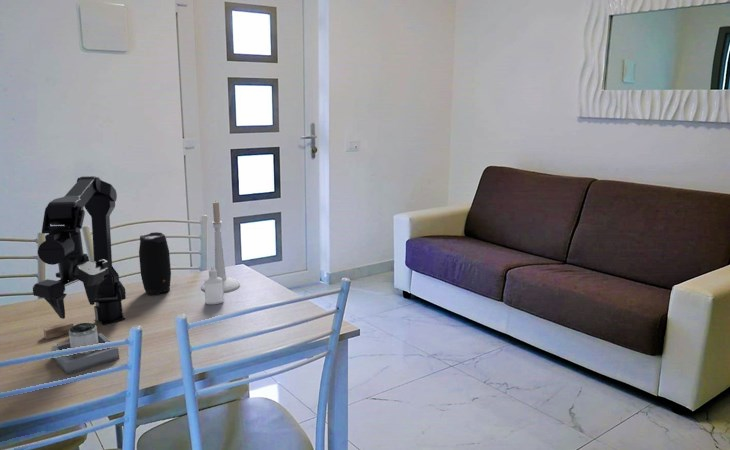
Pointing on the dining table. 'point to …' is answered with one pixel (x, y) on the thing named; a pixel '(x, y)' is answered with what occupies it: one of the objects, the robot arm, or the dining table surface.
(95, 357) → the tray
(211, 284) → the eye dropper bottle
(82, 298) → the dining table surface
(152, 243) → the portable speaker
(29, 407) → the dining table surface
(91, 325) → the camera lens
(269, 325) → the dining table surface
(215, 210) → the candlestick
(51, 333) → the lens cradle
